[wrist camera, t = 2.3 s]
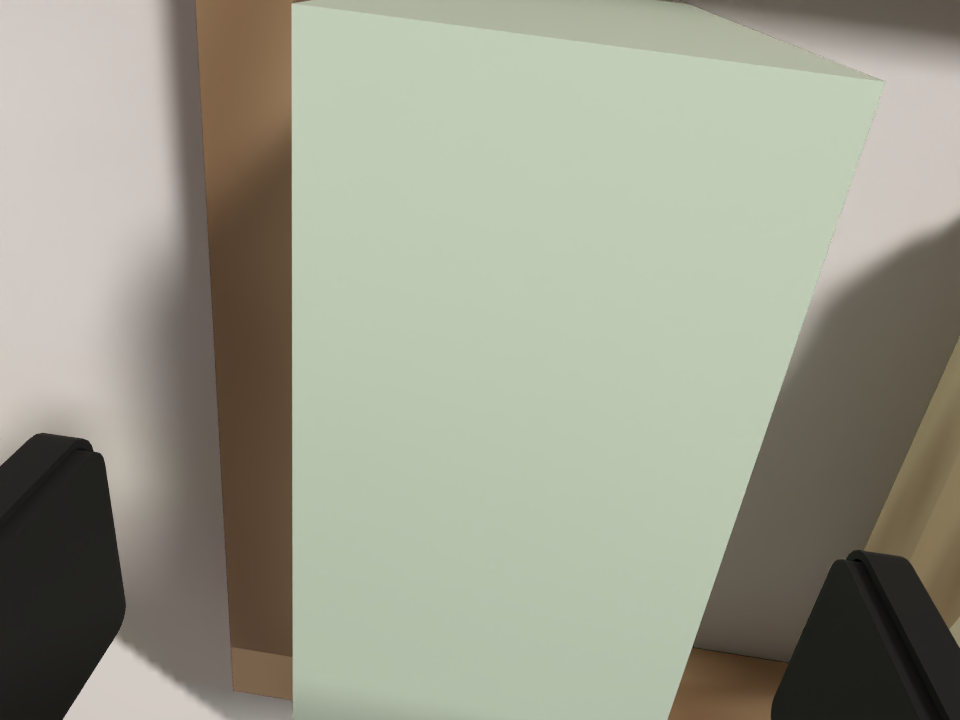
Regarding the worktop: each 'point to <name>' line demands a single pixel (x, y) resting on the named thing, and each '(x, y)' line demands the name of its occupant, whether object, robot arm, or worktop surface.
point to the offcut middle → (942, 550)
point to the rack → (268, 359)
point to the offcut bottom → (922, 470)
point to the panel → (538, 338)
